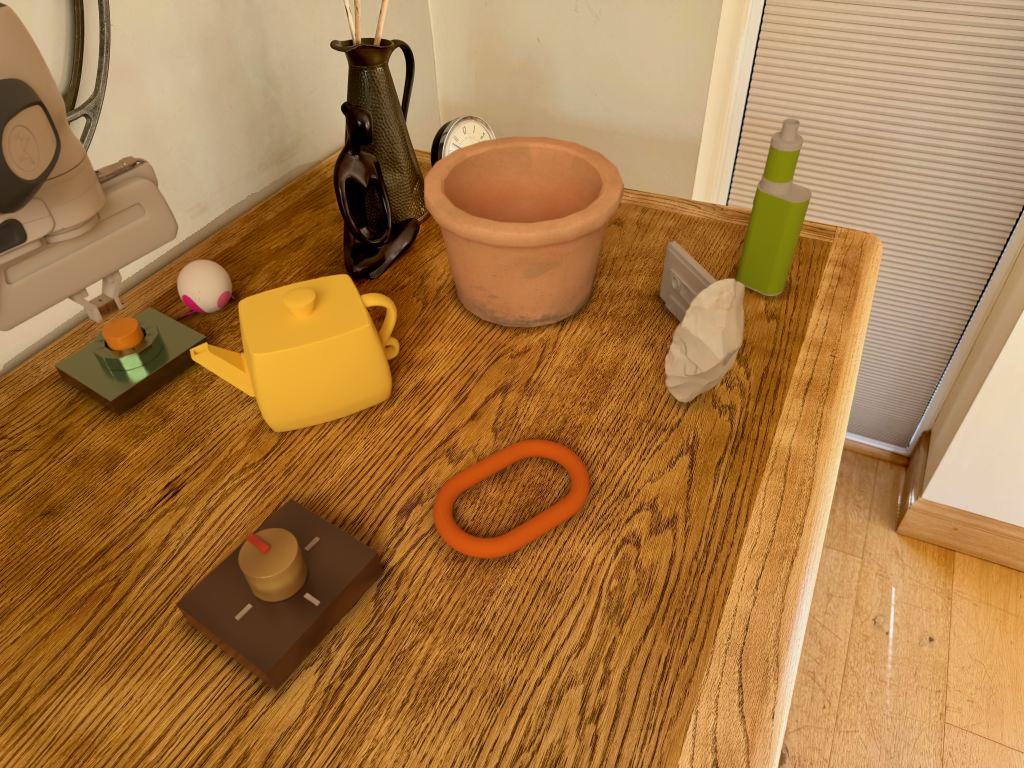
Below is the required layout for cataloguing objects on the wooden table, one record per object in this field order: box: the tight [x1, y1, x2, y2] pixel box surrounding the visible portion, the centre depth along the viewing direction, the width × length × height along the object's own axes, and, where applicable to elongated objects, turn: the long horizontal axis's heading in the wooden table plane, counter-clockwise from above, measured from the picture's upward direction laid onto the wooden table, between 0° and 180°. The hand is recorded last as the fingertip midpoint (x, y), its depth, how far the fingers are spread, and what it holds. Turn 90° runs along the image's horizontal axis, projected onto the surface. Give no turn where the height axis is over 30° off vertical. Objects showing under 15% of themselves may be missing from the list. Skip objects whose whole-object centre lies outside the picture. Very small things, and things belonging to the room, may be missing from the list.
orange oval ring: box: [432, 438, 591, 559], centre depth 65 cm, size 10×2×15 cm
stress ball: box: [176, 259, 236, 318], centre depth 86 cm, size 8×8×7 cm
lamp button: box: [101, 316, 144, 351], centre depth 77 cm, size 4×4×2 cm
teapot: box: [190, 273, 401, 433], centre depth 73 cm, size 20×12×12 cm, turn 113°
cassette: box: [659, 240, 717, 323], centre depth 81 cm, size 12×2×8 cm, turn 22°
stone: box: [664, 278, 746, 404], centre depth 69 cm, size 8×5×15 cm
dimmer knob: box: [238, 528, 307, 602], centre depth 56 cm, size 4×4×4 cm
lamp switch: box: [53, 306, 211, 417], centre depth 79 cm, size 12×10×4 cm
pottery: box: [423, 136, 625, 329], centre depth 84 cm, size 22×22×14 cm
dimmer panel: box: [175, 498, 384, 692], centre depth 58 cm, size 12×10×3 cm
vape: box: [735, 117, 813, 297], centre depth 82 cm, size 4×6×20 cm, turn 47°
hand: (107, 314), depth 75 cm, fingers closed
